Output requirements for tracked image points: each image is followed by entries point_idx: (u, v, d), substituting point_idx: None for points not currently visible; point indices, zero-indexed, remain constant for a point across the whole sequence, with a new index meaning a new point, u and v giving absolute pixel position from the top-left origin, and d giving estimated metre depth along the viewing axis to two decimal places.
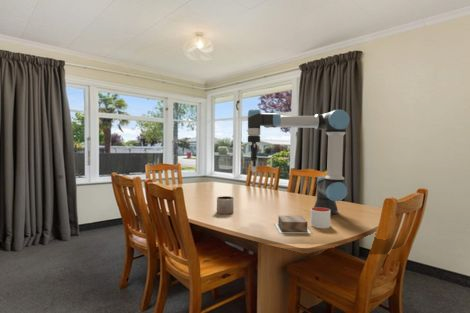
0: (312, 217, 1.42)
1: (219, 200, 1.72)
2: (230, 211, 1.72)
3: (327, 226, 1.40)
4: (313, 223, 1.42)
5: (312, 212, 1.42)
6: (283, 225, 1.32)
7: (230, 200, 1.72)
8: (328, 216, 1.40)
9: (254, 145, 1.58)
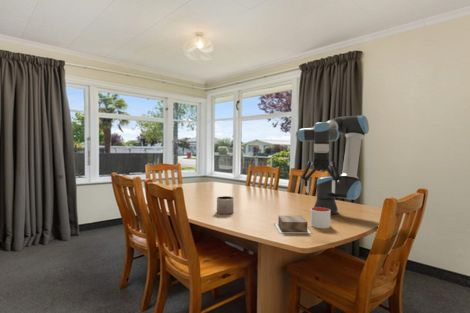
0: (312, 217, 1.42)
1: (219, 200, 1.72)
2: (230, 211, 1.72)
3: (327, 226, 1.40)
4: (313, 223, 1.42)
5: (312, 212, 1.42)
6: (283, 225, 1.32)
7: (230, 200, 1.72)
8: (328, 216, 1.40)
9: (307, 163, 1.43)
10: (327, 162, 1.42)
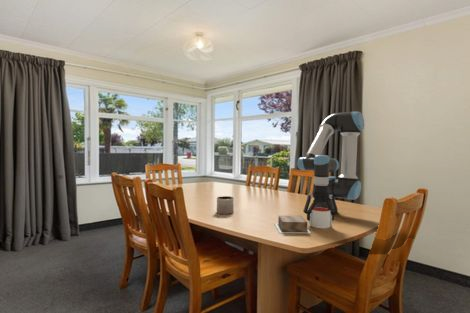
0: (312, 217, 1.42)
1: (219, 200, 1.72)
2: (230, 211, 1.72)
3: (327, 226, 1.40)
4: (313, 223, 1.42)
5: (312, 212, 1.42)
6: (283, 225, 1.32)
7: (230, 200, 1.72)
8: (328, 216, 1.40)
9: (307, 196, 1.43)
10: (327, 195, 1.42)
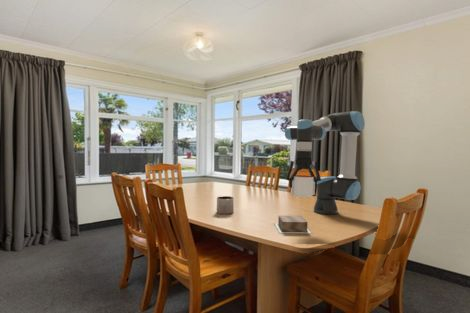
0: (294, 184, 1.37)
1: (219, 200, 1.72)
2: (230, 211, 1.72)
3: (310, 193, 1.35)
4: (295, 190, 1.36)
5: (294, 178, 1.37)
6: (283, 225, 1.32)
7: (230, 200, 1.72)
8: (311, 182, 1.35)
9: (290, 163, 1.38)
10: (310, 161, 1.38)
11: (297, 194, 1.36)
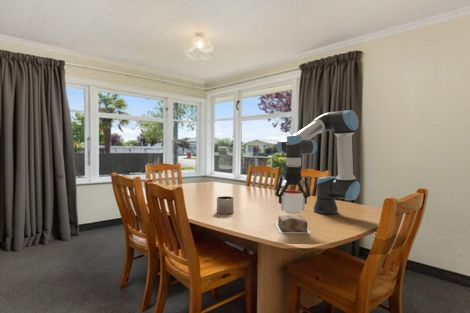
0: (284, 200, 1.36)
1: (219, 200, 1.72)
2: (230, 211, 1.72)
3: (299, 209, 1.33)
4: (285, 206, 1.35)
5: (284, 195, 1.36)
6: (283, 225, 1.32)
7: (230, 200, 1.72)
8: (300, 198, 1.33)
9: (279, 179, 1.37)
10: (299, 176, 1.36)
11: (286, 210, 1.34)
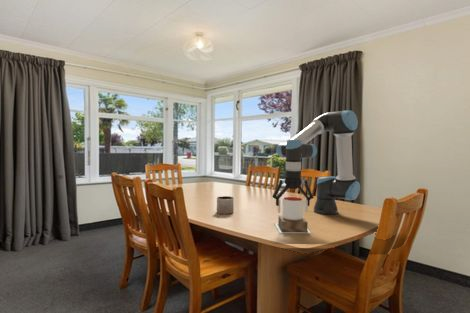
0: (284, 207, 1.36)
1: (219, 200, 1.72)
2: (230, 211, 1.72)
3: (299, 216, 1.33)
4: (285, 213, 1.35)
5: (284, 202, 1.36)
6: (283, 225, 1.32)
7: (230, 200, 1.72)
8: (300, 206, 1.34)
9: (279, 181, 1.37)
10: (299, 180, 1.36)
11: (286, 217, 1.34)
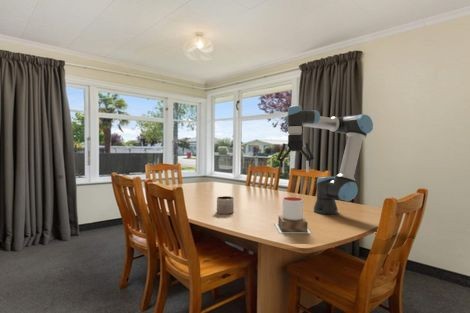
0: (284, 207, 1.36)
1: (219, 200, 1.72)
2: (230, 211, 1.72)
3: (299, 216, 1.33)
4: (285, 213, 1.35)
5: (284, 202, 1.36)
6: (283, 225, 1.32)
7: (230, 200, 1.72)
8: (300, 206, 1.34)
9: (282, 145, 1.50)
10: (300, 143, 1.50)
11: (286, 217, 1.34)
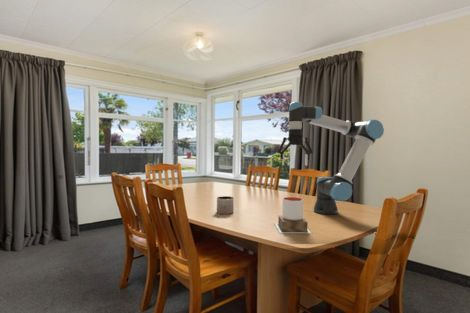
0: (284, 207, 1.36)
1: (219, 200, 1.72)
2: (230, 211, 1.72)
3: (299, 216, 1.33)
4: (285, 213, 1.35)
5: (284, 202, 1.36)
6: (283, 225, 1.32)
7: (230, 200, 1.72)
8: (300, 206, 1.34)
9: (283, 139, 1.60)
10: (300, 138, 1.59)
11: (286, 217, 1.34)
